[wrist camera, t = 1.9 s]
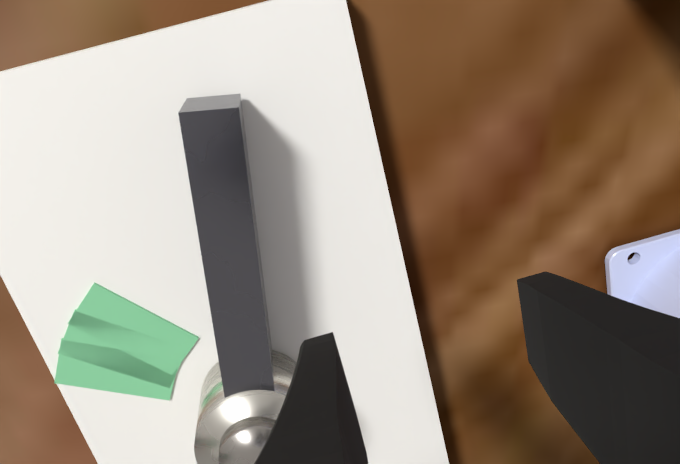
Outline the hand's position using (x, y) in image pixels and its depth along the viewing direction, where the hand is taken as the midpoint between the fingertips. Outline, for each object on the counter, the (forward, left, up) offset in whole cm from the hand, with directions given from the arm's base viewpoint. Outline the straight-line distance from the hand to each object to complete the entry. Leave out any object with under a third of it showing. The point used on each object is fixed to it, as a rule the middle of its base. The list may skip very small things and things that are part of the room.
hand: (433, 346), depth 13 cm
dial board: (+5, +6, -10) cm, 13 cm away
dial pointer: (+5, +2, -9) cm, 10 cm away
